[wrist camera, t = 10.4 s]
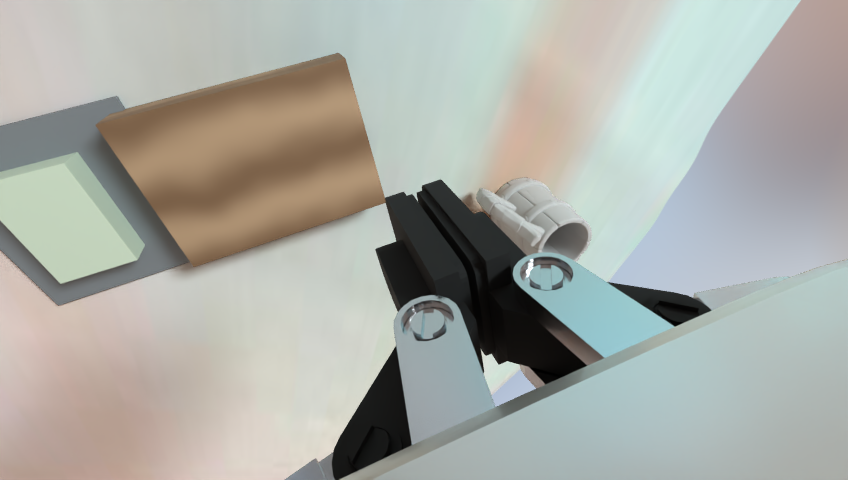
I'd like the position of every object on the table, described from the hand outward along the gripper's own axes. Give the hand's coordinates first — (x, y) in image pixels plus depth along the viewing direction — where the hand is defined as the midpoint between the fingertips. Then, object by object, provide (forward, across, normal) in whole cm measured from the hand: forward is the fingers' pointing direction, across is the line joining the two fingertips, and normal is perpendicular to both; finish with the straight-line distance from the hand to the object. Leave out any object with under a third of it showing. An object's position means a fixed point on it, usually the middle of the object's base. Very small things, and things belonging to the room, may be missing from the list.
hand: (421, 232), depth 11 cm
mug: (+27, -16, +18) cm, 36 cm away
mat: (+27, +22, +5) cm, 35 cm away
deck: (+27, +7, +5) cm, 28 cm away
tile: (+25, +23, +5) cm, 34 cm away
